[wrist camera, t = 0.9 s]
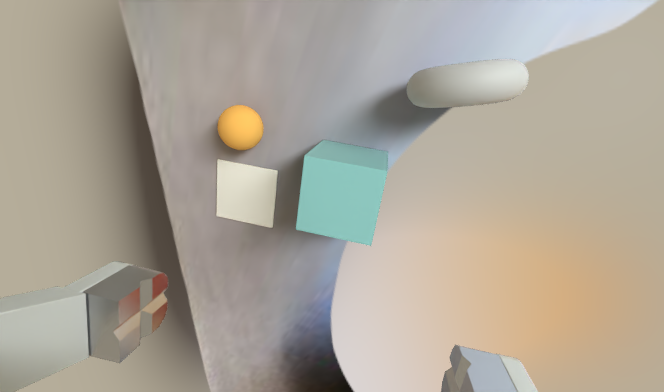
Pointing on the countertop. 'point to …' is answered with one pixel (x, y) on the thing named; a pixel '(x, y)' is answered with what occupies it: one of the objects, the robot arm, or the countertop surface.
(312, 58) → the countertop surface
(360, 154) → the teal cube
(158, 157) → the countertop surface
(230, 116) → the ball
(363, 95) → the countertop surface
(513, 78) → the donut
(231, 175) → the square tile
